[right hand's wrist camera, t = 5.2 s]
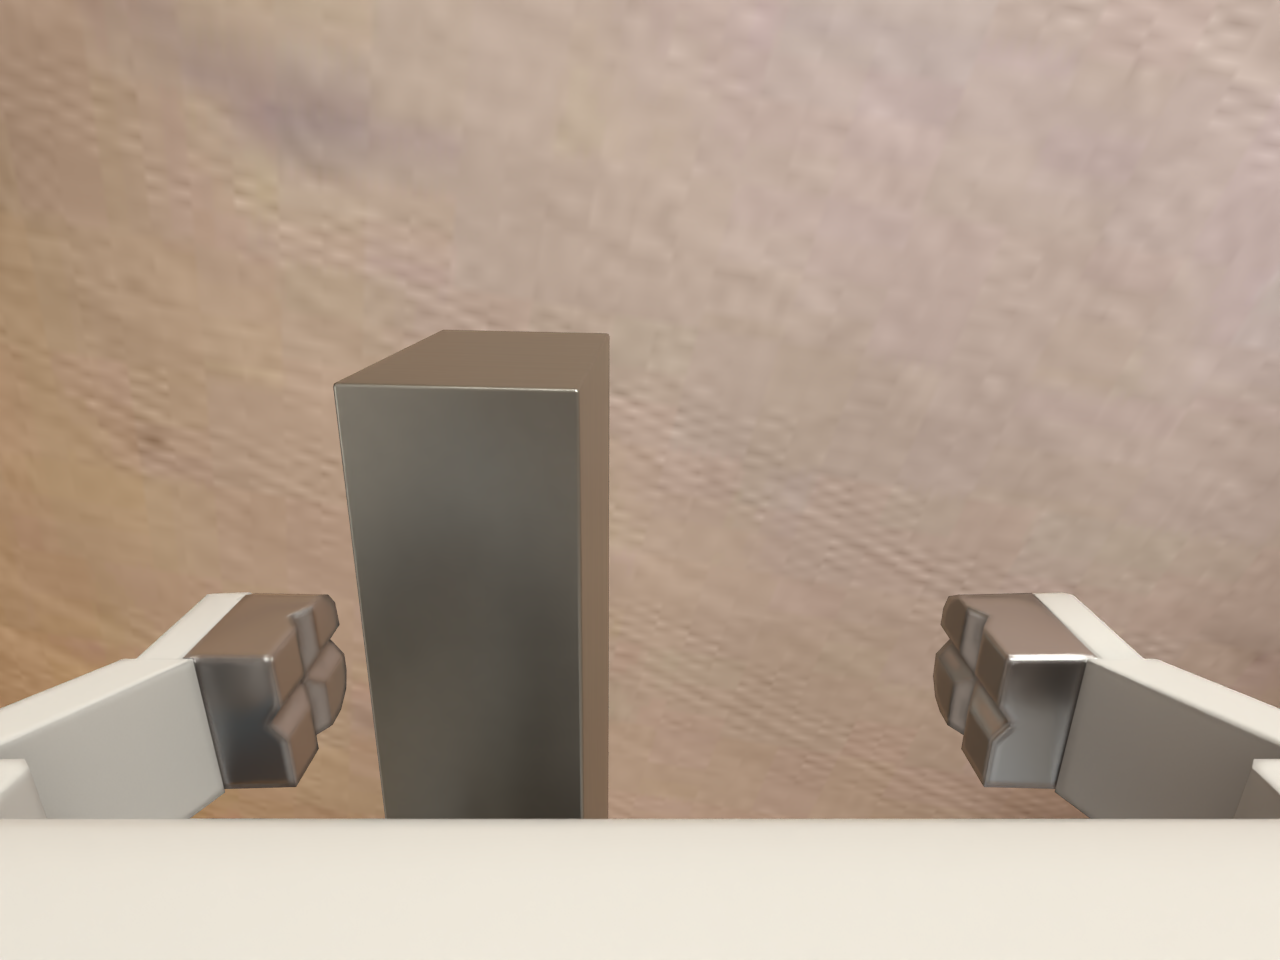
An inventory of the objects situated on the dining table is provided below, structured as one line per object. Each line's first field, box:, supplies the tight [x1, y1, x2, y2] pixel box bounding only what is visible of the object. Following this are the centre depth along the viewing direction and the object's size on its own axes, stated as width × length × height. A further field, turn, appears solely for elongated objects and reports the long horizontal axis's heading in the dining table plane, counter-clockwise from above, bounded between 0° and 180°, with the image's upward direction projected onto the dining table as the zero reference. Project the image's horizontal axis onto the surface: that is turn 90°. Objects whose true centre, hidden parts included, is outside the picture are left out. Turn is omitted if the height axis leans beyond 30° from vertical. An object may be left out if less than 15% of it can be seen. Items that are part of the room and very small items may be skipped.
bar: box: [333, 330, 609, 819], centre depth 23 cm, size 26×5×8 cm, turn 179°
